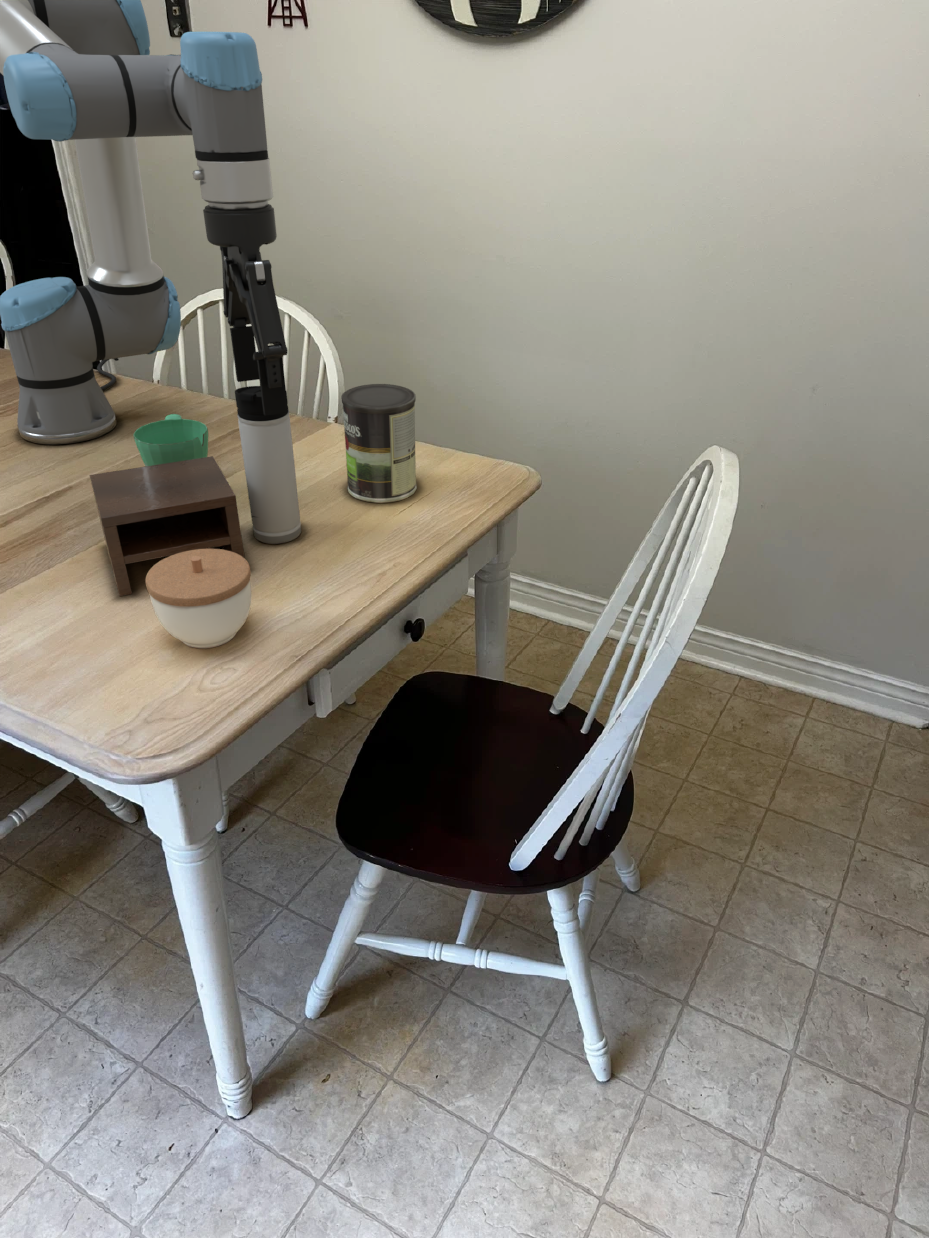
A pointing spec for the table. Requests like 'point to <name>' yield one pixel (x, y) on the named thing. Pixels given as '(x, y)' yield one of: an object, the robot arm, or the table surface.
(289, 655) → the table surface
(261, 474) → the travel mug
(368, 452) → the coffee can
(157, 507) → the shelf
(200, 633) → the trinket box
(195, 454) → the mug
